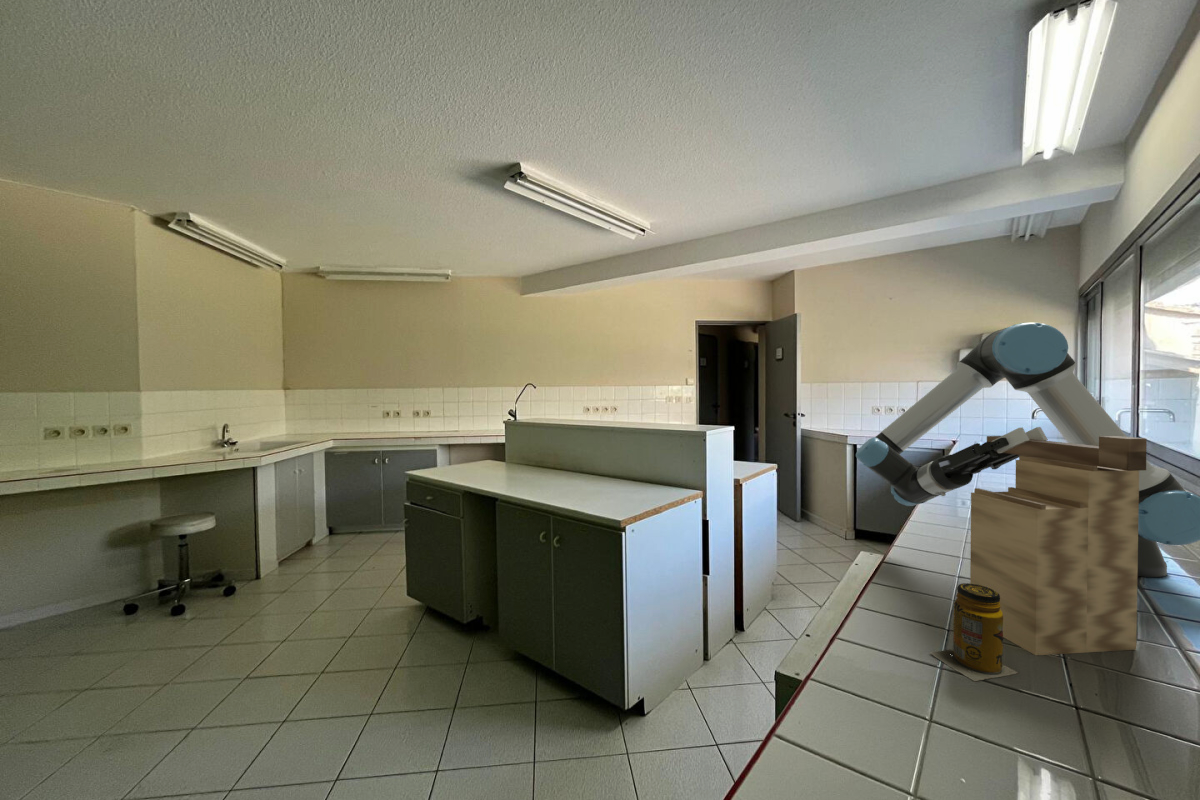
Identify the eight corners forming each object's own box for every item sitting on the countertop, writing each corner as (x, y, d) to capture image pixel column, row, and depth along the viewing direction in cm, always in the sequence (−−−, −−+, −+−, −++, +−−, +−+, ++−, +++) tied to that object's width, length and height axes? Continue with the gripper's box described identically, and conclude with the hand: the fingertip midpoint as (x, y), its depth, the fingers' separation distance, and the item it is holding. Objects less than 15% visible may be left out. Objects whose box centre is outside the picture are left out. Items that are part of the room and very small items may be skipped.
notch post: (1057, 613, 87) (1059, 454, 86) (1136, 649, 75) (1139, 465, 74) (970, 618, 85) (971, 456, 85) (1035, 655, 73) (1037, 467, 73)
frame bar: (1000, 450, 94) (1000, 426, 94) (1146, 470, 71) (1146, 438, 70) (986, 450, 94) (986, 426, 94) (1128, 470, 70) (1129, 439, 70)
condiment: (1018, 673, 69) (1019, 596, 69) (974, 682, 67) (975, 603, 67) (969, 647, 76) (970, 577, 76) (929, 654, 74) (929, 582, 74)
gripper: (983, 488, 105) (1083, 450, 85) (919, 491, 104) (1003, 453, 84) (969, 458, 109) (1061, 415, 88) (906, 460, 108) (985, 417, 87)
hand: (1033, 433), depth 86 cm, fingers closed on frame bar, 3 cm apart
